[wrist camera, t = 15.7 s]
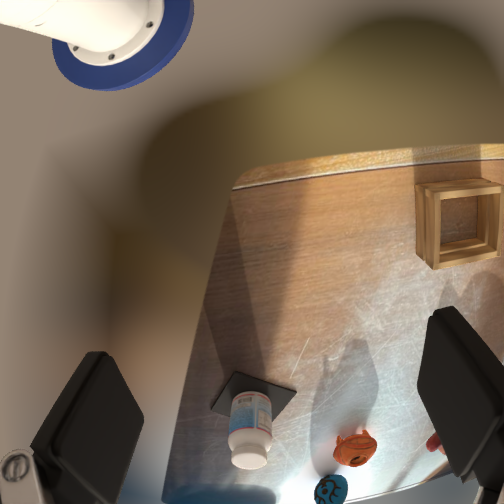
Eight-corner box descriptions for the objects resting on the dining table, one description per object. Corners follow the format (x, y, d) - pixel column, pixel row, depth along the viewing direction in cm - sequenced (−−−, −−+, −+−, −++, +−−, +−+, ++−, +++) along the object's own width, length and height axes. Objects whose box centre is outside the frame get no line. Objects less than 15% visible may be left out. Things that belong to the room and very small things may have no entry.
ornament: (337, 466, 54) (342, 505, 44) (350, 471, 55) (356, 508, 45) (307, 481, 56) (309, 518, 47) (320, 485, 57) (324, 521, 48)
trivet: (210, 409, 47) (210, 410, 47) (235, 370, 44) (235, 372, 44) (266, 427, 49) (266, 428, 48) (296, 391, 45) (296, 392, 45)
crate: (415, 254, 37) (433, 270, 32) (414, 184, 34) (434, 192, 29) (480, 242, 36) (500, 255, 31) (481, 177, 33) (504, 185, 28)
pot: (323, 450, 51) (329, 474, 44) (338, 419, 50) (347, 443, 43) (360, 453, 51) (369, 475, 44) (377, 423, 50) (389, 445, 43)
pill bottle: (230, 412, 47) (223, 469, 36) (234, 386, 45) (227, 447, 34) (267, 416, 47) (267, 473, 37) (275, 392, 45) (276, 452, 34)
